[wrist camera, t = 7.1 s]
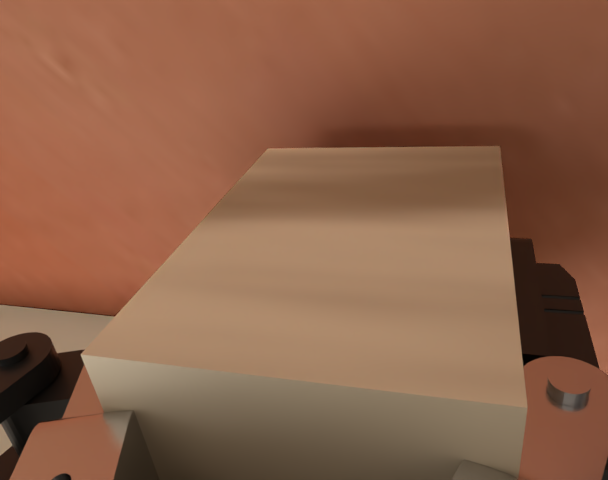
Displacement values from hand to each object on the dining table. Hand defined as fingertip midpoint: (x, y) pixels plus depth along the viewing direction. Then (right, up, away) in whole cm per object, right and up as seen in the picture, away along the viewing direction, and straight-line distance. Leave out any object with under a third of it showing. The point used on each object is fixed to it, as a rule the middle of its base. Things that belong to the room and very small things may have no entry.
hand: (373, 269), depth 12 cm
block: (0, +1, +1) cm, 1 cm away
